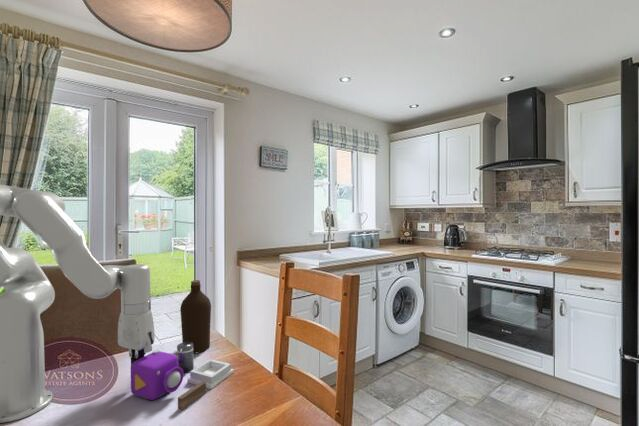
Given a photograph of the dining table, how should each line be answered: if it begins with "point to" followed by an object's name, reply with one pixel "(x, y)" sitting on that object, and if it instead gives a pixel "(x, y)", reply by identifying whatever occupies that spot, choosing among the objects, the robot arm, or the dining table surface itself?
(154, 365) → the toy camera
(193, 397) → the rail
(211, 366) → the tray
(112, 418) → the dining table surface
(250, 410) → the dining table surface
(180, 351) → the lens
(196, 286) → the olive oil
